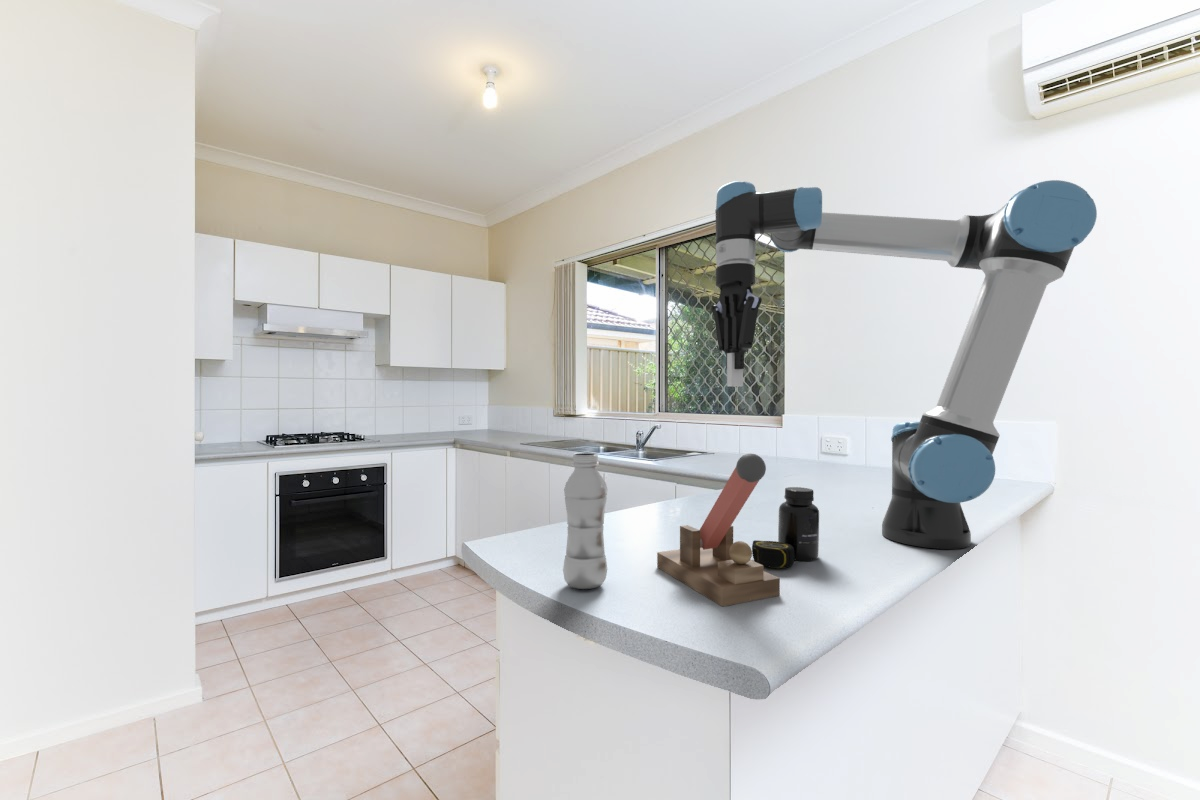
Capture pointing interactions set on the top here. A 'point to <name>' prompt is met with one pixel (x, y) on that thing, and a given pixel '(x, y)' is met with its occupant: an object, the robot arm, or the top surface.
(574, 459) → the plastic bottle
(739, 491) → the lever
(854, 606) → the top surface
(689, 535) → the cracker base
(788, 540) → the supplement bottle
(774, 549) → the tape measure
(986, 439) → the robot arm
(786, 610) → the top surface
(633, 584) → the top surface
